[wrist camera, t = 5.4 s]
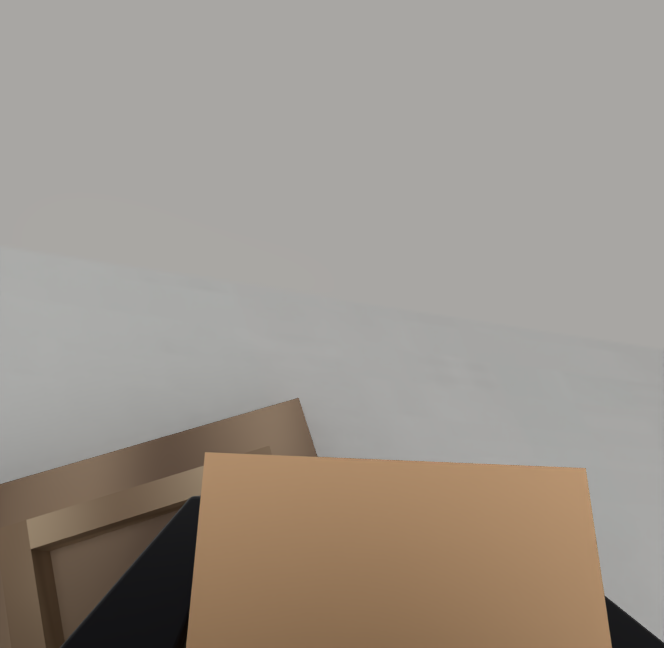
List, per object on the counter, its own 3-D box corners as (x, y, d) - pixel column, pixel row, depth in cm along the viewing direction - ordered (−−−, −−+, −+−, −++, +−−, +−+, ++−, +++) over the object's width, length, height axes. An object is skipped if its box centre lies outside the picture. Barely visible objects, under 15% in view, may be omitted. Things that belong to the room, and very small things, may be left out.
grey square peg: (360, 690, 14) (659, 970, 4) (215, 691, 14) (150, 1006, 4) (360, 537, 15) (585, 468, 5) (227, 534, 15) (205, 451, 5)
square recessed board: (296, 403, 22) (303, 382, 19) (405, 744, 18) (430, 771, 16) (-36, 500, 19) (-75, 490, 17) (16, 923, 15) (-26, 987, 13)
